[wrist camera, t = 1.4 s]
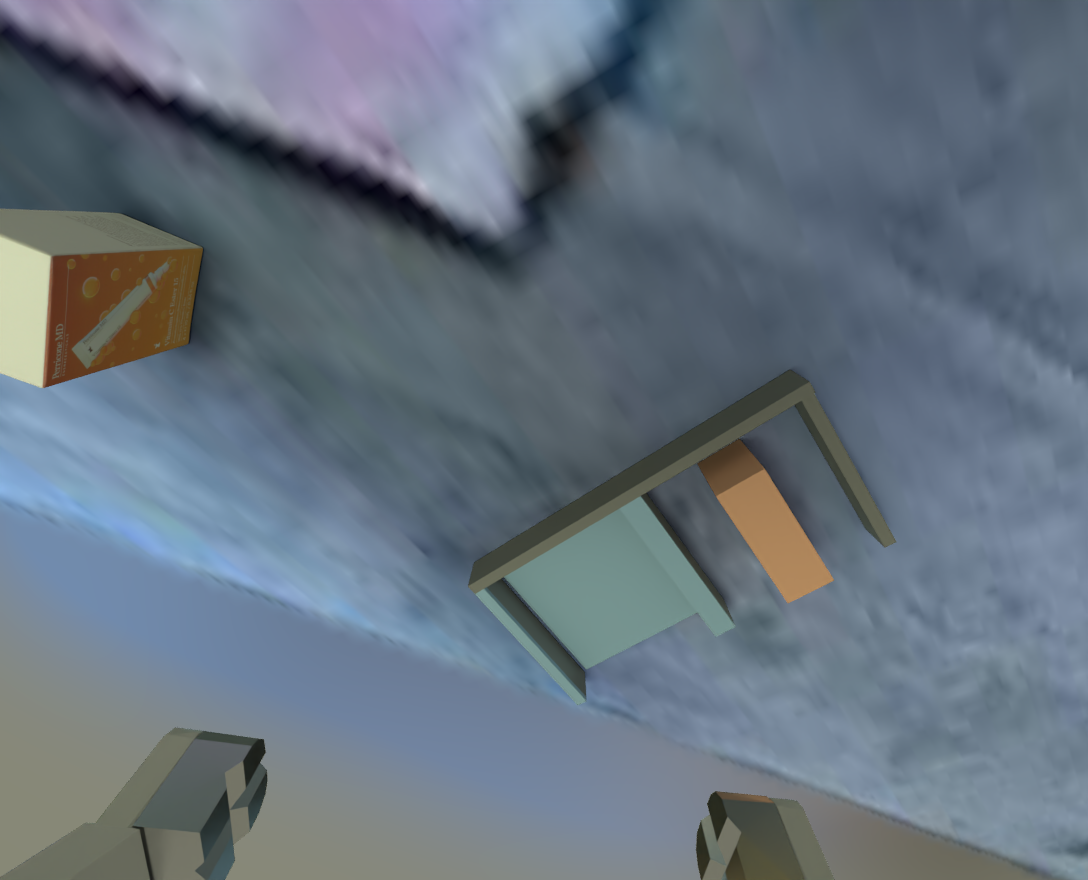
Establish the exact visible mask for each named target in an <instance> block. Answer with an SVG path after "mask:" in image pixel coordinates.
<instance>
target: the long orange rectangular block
mask: <svg viewBox="0 0 1088 880" xmlns="http://www.w3.org/2000/svg"><path fill="white" fill-rule="evenodd" d="M697 464H698V466H699V468H700V470H701V471H702V473H703V475H704V476H705V478H706V480H707V482H708V483H709V485H710V487H711V489H712V490H713V492H714V494H715V496H716V497H717V499H718V500H719V502H720V503H721V505H722V506H723V508H724V509H725V511H726V512H727V514H728V515H729V516H730V518H731V519H732V521H733V522H734V524H735V525H736V527H737V528H738V530H739V531H740V533H741V534H742V536H743V537H744V539H745V540H746V542H747V543H748V545H749V546H750V548H751V549H752V551H753V552H754V554H755V555H756V557H757V558H758V560H759V561H760V563H761V564H762V566H763V567H764V569H765V570H766V572H767V573H768V574H769V576H770V577H771V579H772V580H773V582H774V583H775V585H776V586H777V588H778V589H779V591H780V592H781V594H782V595H783V597H784V598H785V600H786V601H787V603H790V602H792V601H794V600H796V599H798V598H800V597H802V596H804V595H806V594H808V593H810V592H812V591H814V590H816V589H818V588H820V587H822V586H824V585H826V584H828V583H830V582H832V581H834V579H833V578H832V576H831V574H830V573H829V571H828V570H827V568H826V566H825V565H824V563H823V562H822V560H821V558H820V557H819V555H818V554H817V552H816V550H815V549H814V547H813V545H812V544H811V542H810V541H809V539H808V537H807V536H806V534H805V533H804V531H803V529H802V528H801V526H800V525H799V523H798V521H797V520H796V518H795V517H794V515H793V513H792V512H791V510H790V509H789V507H788V505H787V504H786V502H785V500H784V499H783V497H782V496H781V494H780V492H779V491H778V489H777V488H776V486H775V484H774V483H773V481H772V480H771V478H770V476H769V475H768V473H767V472H766V470H765V468H764V467H763V466H762V465H761V464H760V463H759V461H758V460H757V459H756V458H755V457H754V455H753V454H752V453H751V452H750V451H749V449H748V448H747V447H746V446H745V445H744V444H743V442H742V441H741V440H740V439H738V440H736V441H735V442H733V443H731V444H730V445H728V446H726V447H724V448H723V449H721V450H719V451H718V452H716V453H714V454H713V455H711V456H709V457H708V458H706V459H704V460H703V461H701V462H699V463H697Z"/></svg>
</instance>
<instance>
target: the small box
mask: <svg viewBox="0 0 1088 880" xmlns="http://www.w3.org/2000/svg"><path fill="white" fill-rule="evenodd" d="M202 252H203V248H202V247H201V246H198V245H196V244H193V243H191V242H188V241H186V240H183V239H181V238H179V237H176V236H174V235H171V234H169V233H166V232H164V231H162V230H159V229H157V228H154V227H152V226H150V225H147V224H145V223H142V222H140V221H138V220H135V219H133V218H130V217H128V216H126V215H123V214H120V213H104V212H79V211H46V210H18V209H0V373H1V374H4V375H7V376H10V377H13V378H15V379H18V380H21V381H24V382H27V383H30V384H33V385H35V386H38V387H41V388H45V387H49V386H52V385H55V384H58V383H62V382H65V381H68V380H72V379H75V378H78V377H82V376H85V375H88V374H91V373H95V372H98V371H101V370H105V369H108V368H112V367H115V366H118V365H121V364H124V363H128V362H131V361H135V360H138V359H141V358H145V357H148V356H151V355H154V354H157V353H160V352H164V351H167V350H170V349H174V348H177V347H180V346H184V345H187V344H188V343H189V333H190V325H191V318H192V311H193V305H194V298H195V292H196V286H197V281H198V275H199V269H200V263H201V258H202Z"/></svg>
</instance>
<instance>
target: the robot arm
mask: <svg viewBox="0 0 1088 880" xmlns="http://www.w3.org/2000/svg"><path fill="white" fill-rule="evenodd" d="M265 753H266V751H265V744H264V739H258V738H250V737H243V736H236V735H228V734H221V733H214V732H206V731H200V730H192V729H184V728H174V729H173V730H172V731H170V732H169V733H167V734H166V735H165V736H164V737H163V738H162V739H161V740H160V742H159V743H158V744H157V745H156V747H155V748H154V749H153V751H152V752H151V753H150V754H149V756H148V757H147V758H146V759H145V761H144V762H143V763H142V764H141V766H140V767H139V768H138V770H137V771H136V772H135V773H134V775H133V776H132V777H131V778H130V780H129V781H128V782H127V783H126V785H125V786H124V787H123V789H122V790H121V791H120V792H119V794H118V795H117V796H116V797H115V799H114V800H113V801H112V803H111V804H110V805H109V806H108V808H107V809H106V810H105V811H104V813H103V814H102V815H101V817H100V818H99V819H98V820H97V822H96V823H84V824H83V825H81V826H80V827H78V828H76V829H75V830H73V831H72V832H70V833H69V834H67V835H66V836H64V837H62V838H61V839H59V840H58V841H56V842H55V843H53V844H51V845H50V846H48V847H47V848H45V849H44V850H42V851H40V852H39V853H37V854H36V855H34V856H33V857H31V858H30V859H28V860H26V861H25V862H23V863H22V864H20V865H18V866H17V867H16V868H14V869H12V870H11V871H9V872H8V873H6V874H4V875H3V876H1V877H0V880H225V879H226V877H227V875H228V873H229V871H230V869H231V867H232V865H233V863H234V861H235V856H234V846H233V845H234V844H235V843H236V842H237V841H239V840H240V839H241V838H242V837H244V836H245V835H246V834H247V833H249V832H250V830H251V828H252V826H253V824H254V822H255V820H256V818H257V816H258V814H259V811H260V808H261V806H262V803H263V799H264V797H265V794H266V787H267V770H266V769H265V768H264V767H263V765H262V764H261V763H260V762H261V760H262V758H263V756H264V754H265ZM707 805H708V809H709V813H710V815H709V816H707V817H706V818H704V819H702V820H701V822H700V825H699V829H698V831H697V843H696V853H697V862H698V868H699V873H700V878H701V880H835V879H834V877H833V875H832V872H831V870H830V868H829V866H828V863H827V861H826V859H825V857H824V854H823V852H822V850H821V848H820V845H819V843H818V841H817V839H816V836H815V834H814V832H813V830H812V827H811V825H810V823H809V821H808V818H807V816H806V814H805V811H804V809H803V807H802V806H801V805H800V804H799V803H798V801H794V800H788V799H777V798H768V797H766V796H758V795H748V794H738V793H728V792H718V791H715V792H714V793H712V794H711V796H710V798H709V801H708V803H707Z"/></svg>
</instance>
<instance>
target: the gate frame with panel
mask: <svg viewBox="0 0 1088 880" xmlns="http://www.w3.org/2000/svg"><path fill="white" fill-rule="evenodd" d="M814 393H815V391H814V389H813V387H812V385H811V383H810V382H809V381H808V380H806V379H804V378H803V377H801V376H800V375H798V374H796V373H795V372H793V371H792V370H788V371H787V372H785V373H784V374H782V375H780V376H779V377H777V378H775V379H774V380H772V381H770V382H769V383H767V384H766V385H764V386H762V387H761V388H759V389H757V390H756V391H754V392H752V393H751V394H749V395H748V396H746V397H744V398H743V399H741V400H739V401H738V402H736V403H734V404H733V405H731V406H730V407H728V408H726V409H725V410H723V411H721V412H720V413H718V414H716V415H715V416H713V417H712V418H710V419H708V420H707V421H705V422H703V423H702V424H700V425H698V426H697V427H695V428H694V429H692V430H690V431H689V432H687V433H685V434H684V435H682V436H680V437H679V438H677V439H676V440H674V441H672V442H671V443H669V444H667V445H666V446H664V447H662V448H661V449H659V450H658V451H656V452H654V453H653V454H651V455H649V456H648V457H646V458H644V459H643V460H641V461H640V462H638V463H636V464H635V465H633V466H631V467H630V468H628V469H626V470H625V471H623V472H622V473H620V474H618V475H617V476H615V477H613V478H612V479H610V480H608V481H607V482H605V483H604V484H602V485H600V486H599V487H597V488H595V489H594V490H592V491H590V492H589V493H587V494H585V495H584V496H582V497H581V498H579V499H577V500H576V501H574V502H572V503H571V504H569V505H567V506H566V507H564V508H563V509H561V510H559V511H558V512H556V513H554V514H553V515H551V516H549V517H548V518H546V519H545V520H543V521H541V522H540V523H538V524H536V525H535V526H533V527H531V528H530V529H528V530H527V531H525V532H523V533H522V534H520V535H518V536H517V537H515V538H513V539H512V540H510V541H509V542H507V543H505V544H504V545H502V546H500V547H499V548H497V549H495V550H494V551H492V552H491V553H489V554H487V555H486V556H484V557H482V558H481V559H479V560H477V561H476V562H474V565H473V569H472V572H471V576H470V580H469V584H468V587H469V588H470V589H471V590H472V591H473V592H474V593H475V595H476V596H477V597H478V598H479V599H480V600H481V601H482V602H483V603H484V604H485V605H486V606H487V607H488V609H489V610H490V611H491V612H492V613H493V614H494V615H495V616H496V617H497V618H498V619H499V620H500V622H501V623H502V624H503V625H504V626H505V627H506V628H507V629H508V630H509V631H510V632H511V633H512V635H513V636H514V637H515V638H516V639H517V640H518V641H519V642H520V643H521V644H522V645H523V646H524V648H525V649H526V650H527V651H528V652H529V653H530V654H531V655H532V656H533V657H534V658H535V659H536V661H537V662H538V663H539V664H540V665H541V666H542V667H543V668H544V669H545V670H546V671H547V672H548V673H549V675H550V676H551V677H552V678H553V679H554V680H555V681H556V682H557V683H558V684H559V685H560V686H561V688H562V689H563V690H564V691H565V692H566V693H567V694H568V695H569V696H570V697H571V698H572V699H573V701H574V702H575V703H576V704H577V705H579V704H581V703H583V702H585V701H586V685H585V672H584V671H583V670H582V669H581V668H580V666H579V665H578V664H577V663H576V662H575V661H574V660H573V659H572V657H571V656H570V655H569V654H568V653H567V652H566V651H565V650H564V648H563V647H562V646H561V645H560V644H559V643H558V642H557V641H556V640H555V638H554V637H553V636H552V635H551V634H550V633H549V632H548V631H547V629H546V628H545V627H544V626H543V625H542V624H541V623H540V622H539V620H538V619H537V618H536V617H535V616H534V615H533V614H532V613H531V611H530V610H529V609H528V608H527V607H526V606H525V605H524V604H523V603H522V601H521V600H520V599H519V598H518V597H517V596H516V595H515V594H514V592H513V591H512V590H511V589H510V588H509V587H508V586H507V585H506V583H505V582H504V581H503V580H502V579H501V578H503V577H505V579H506V580H507V581H508V582H509V583H510V584H511V585H512V586H513V588H514V589H515V590H516V591H517V592H518V593H519V594H520V595H521V597H522V598H523V599H524V600H525V601H526V602H527V603H528V604H529V606H530V607H531V608H532V609H533V610H534V611H535V612H536V613H537V615H538V616H539V617H540V618H541V619H542V620H543V621H544V622H545V624H546V625H547V626H548V627H549V628H550V629H551V630H552V631H553V633H554V634H555V635H556V636H557V637H558V638H559V639H560V641H561V642H562V643H563V644H564V645H565V646H566V647H567V648H568V650H569V651H570V652H571V653H572V654H573V655H574V656H575V657H576V659H577V660H578V661H579V662H580V663H581V664H582V665H583V666H584V668H585V669H588V668H590V667H592V666H594V665H596V664H598V663H600V662H602V661H604V660H606V659H608V658H610V657H612V656H614V655H616V654H617V653H619V652H621V651H623V650H625V649H627V648H629V647H631V646H633V645H635V644H637V643H639V642H641V641H643V640H645V639H647V638H649V637H651V636H652V635H654V634H656V633H658V632H660V631H662V630H664V629H666V628H668V627H670V626H672V625H674V624H676V623H678V622H680V621H682V620H684V619H686V618H688V617H689V616H691V615H693V614H695V613H698V614H699V615H700V616H701V618H702V619H703V620H704V622H705V623H706V624H707V626H708V627H709V628H710V630H711V631H712V632H713V634H714V635H715V636H718V635H720V634H722V633H724V632H726V631H728V630H730V629H732V628H734V627H736V626H735V624H734V622H733V619H732V617H731V615H730V613H729V610H728V608H727V606H726V603H725V601H724V600H723V598H722V597H721V596H720V594H719V593H718V591H717V590H716V589H715V587H714V586H713V584H712V583H711V582H710V580H709V579H708V578H707V576H706V575H705V573H704V572H703V571H702V569H701V568H700V567H699V565H698V564H697V562H696V561H695V560H694V558H693V557H692V555H691V554H690V553H689V551H688V550H687V549H686V547H685V546H684V544H683V543H682V542H681V540H680V539H679V537H678V536H677V535H676V533H675V532H674V531H673V529H672V528H671V526H670V525H669V524H668V522H667V521H666V520H665V518H664V517H663V515H662V514H661V513H660V511H659V510H658V508H657V507H656V506H655V504H654V503H653V502H652V500H651V499H650V497H649V496H648V495H647V492H648V491H650V490H652V489H653V488H655V487H657V486H658V485H660V484H662V483H663V482H665V481H667V480H669V479H670V478H672V477H674V476H675V475H677V474H679V473H680V472H682V471H684V470H685V469H687V468H689V467H690V466H692V465H694V464H696V463H697V462H699V461H701V460H702V459H704V458H706V457H707V456H709V455H711V454H712V453H714V452H716V451H717V450H719V449H721V448H723V447H724V446H726V445H728V444H729V443H731V442H733V441H734V440H736V439H738V438H739V437H741V436H743V435H745V434H746V433H748V432H750V431H751V430H753V429H755V428H756V427H758V426H760V425H761V424H763V423H765V422H766V421H768V420H770V419H772V418H773V417H775V416H777V415H778V414H780V413H782V412H783V411H785V410H787V409H788V408H790V407H792V406H793V405H795V407H796V408H797V410H798V412H799V413H800V415H801V417H802V419H803V420H804V422H805V424H806V426H807V427H808V429H809V431H810V433H811V434H812V436H813V438H814V440H815V441H816V443H817V445H818V447H819V448H820V450H821V452H822V454H823V455H824V457H825V459H826V461H827V462H828V464H829V466H830V468H831V469H832V471H833V473H834V475H835V476H836V478H837V480H838V482H839V483H840V485H841V487H842V489H843V490H844V492H845V494H846V496H847V497H848V499H849V501H850V503H851V504H852V506H853V508H854V510H855V511H856V513H857V515H858V517H859V518H860V520H861V522H862V524H863V525H864V527H865V529H866V530H867V531H868V532H869V533H870V534H871V535H872V536H873V537H874V538H875V539H876V540H877V541H878V542H879V543H880V544H882V545H883V546H884V547H887V546H889V545H891V544H893V543H895V542H896V540H895V538H894V537H893V535H892V533H891V531H890V529H889V528H888V526H887V524H886V522H885V520H884V519H883V517H882V515H881V513H880V511H879V510H878V508H877V506H876V504H875V502H874V501H873V499H872V497H871V495H870V493H869V492H868V490H867V488H866V486H865V484H864V483H863V481H862V479H861V477H860V475H859V474H858V472H857V470H856V468H855V466H854V465H853V463H852V461H851V459H850V457H849V455H848V454H847V452H846V450H845V448H844V446H843V445H842V443H841V441H840V439H839V437H838V436H837V434H836V432H835V430H834V428H833V427H832V425H831V423H830V421H829V419H828V418H827V416H826V414H825V412H824V410H823V409H822V407H821V405H820V403H819V401H818V400H817V398H816V396H815V394H814Z"/></svg>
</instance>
